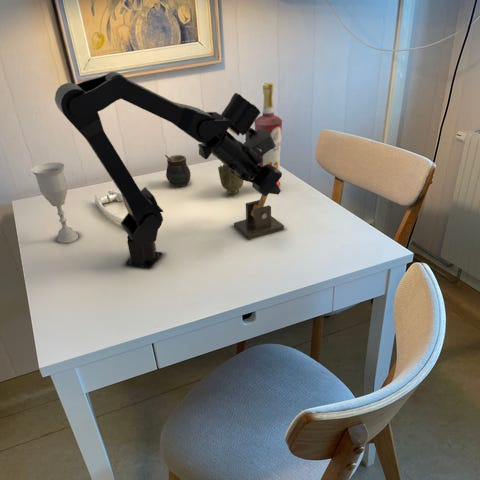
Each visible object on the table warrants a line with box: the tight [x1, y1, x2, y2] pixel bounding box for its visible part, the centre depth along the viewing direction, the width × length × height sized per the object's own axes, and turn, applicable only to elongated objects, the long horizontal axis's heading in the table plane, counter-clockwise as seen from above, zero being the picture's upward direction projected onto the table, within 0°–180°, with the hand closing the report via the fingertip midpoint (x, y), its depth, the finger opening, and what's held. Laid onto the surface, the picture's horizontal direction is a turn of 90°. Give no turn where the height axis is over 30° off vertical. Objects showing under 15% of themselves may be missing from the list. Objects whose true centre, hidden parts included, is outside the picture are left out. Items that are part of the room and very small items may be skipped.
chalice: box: [31, 161, 79, 244], centre depth 118 cm, size 7×7×18 cm
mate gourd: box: [164, 154, 192, 188], centre depth 145 cm, size 7×8×10 cm
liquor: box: [254, 82, 283, 188], centre depth 134 cm, size 7×7×28 cm
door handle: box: [94, 189, 124, 226], centre depth 132 cm, size 3×10×25 cm
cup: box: [217, 163, 245, 197], centre depth 138 cm, size 8×7×8 cm
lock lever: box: [251, 194, 269, 216], centre depth 119 cm, size 9×5×2 cm
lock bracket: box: [233, 199, 285, 240], centre depth 121 cm, size 10×8×6 cm
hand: (273, 188), depth 119 cm, fingers closed on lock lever, 5 cm apart
